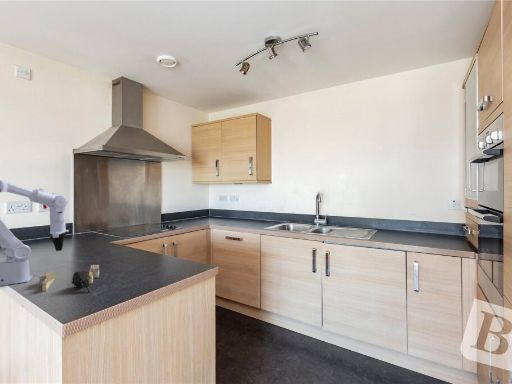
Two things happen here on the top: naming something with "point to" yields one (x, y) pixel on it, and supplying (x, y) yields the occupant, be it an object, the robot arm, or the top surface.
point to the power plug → (81, 279)
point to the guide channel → (48, 278)
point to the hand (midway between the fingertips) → (58, 250)
